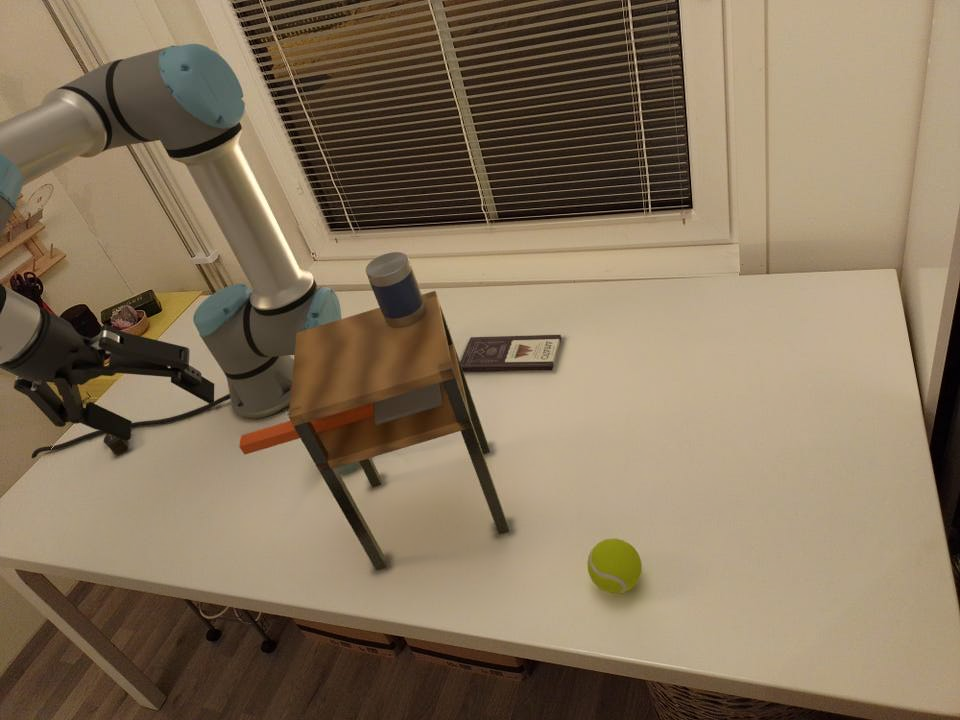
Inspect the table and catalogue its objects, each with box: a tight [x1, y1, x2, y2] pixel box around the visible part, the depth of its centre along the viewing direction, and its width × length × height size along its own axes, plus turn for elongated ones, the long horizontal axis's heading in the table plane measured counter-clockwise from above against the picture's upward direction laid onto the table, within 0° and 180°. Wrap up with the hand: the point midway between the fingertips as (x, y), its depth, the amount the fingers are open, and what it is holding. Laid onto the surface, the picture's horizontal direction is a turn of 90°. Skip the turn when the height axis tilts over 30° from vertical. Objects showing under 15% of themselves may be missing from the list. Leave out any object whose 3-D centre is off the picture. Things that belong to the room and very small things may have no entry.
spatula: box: [238, 383, 443, 456], centre depth 92 cm, size 27×6×2 cm, turn 99°
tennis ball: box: [587, 538, 643, 594], centre depth 88 cm, size 7×7×7 cm
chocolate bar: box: [459, 334, 562, 372], centre depth 131 cm, size 9×1×18 cm
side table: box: [288, 290, 510, 571], centre depth 99 cm, size 20×18×31 cm
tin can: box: [365, 251, 426, 328], centre depth 91 cm, size 6×6×8 cm
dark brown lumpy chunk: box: [103, 433, 129, 456], centre depth 139 cm, size 5×7×3 cm, turn 25°
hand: (169, 412), depth 91 cm, fingers open, 13 cm apart
